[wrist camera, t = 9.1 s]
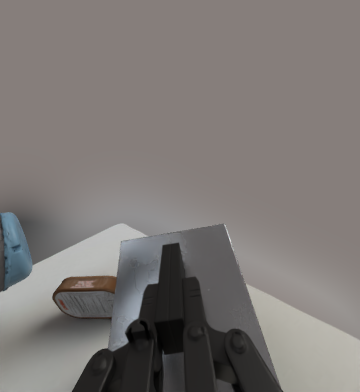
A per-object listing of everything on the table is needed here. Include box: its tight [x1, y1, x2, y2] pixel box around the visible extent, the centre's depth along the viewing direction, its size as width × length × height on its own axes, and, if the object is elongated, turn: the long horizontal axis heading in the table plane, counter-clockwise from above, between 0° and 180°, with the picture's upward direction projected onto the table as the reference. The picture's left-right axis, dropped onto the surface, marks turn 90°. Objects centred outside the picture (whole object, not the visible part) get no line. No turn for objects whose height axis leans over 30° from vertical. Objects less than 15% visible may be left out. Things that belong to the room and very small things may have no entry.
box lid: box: [108, 224, 281, 392], centre depth 14 cm, size 13×12×1 cm
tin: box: [52, 276, 117, 319], centre depth 30 cm, size 15×3×8 cm, turn 83°
